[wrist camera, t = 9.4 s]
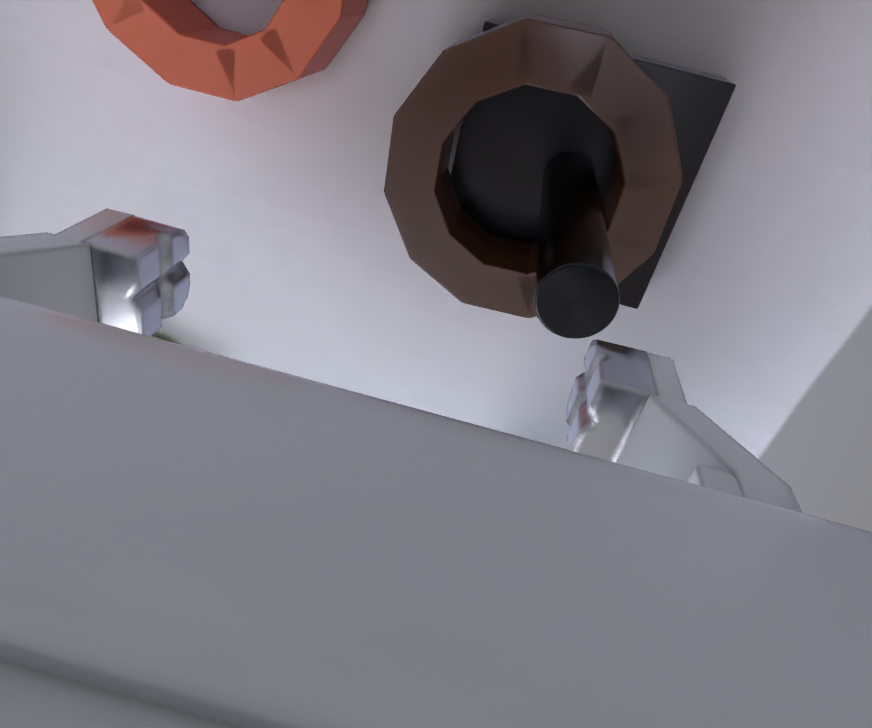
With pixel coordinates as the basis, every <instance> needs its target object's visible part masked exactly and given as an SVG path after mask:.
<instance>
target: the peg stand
mask: <svg viewBox="0 0 872 728" xmlns="http://www.w3.org/2000/svg"><path fill="white" fill-rule="evenodd" d="M503 23H504V22H500V21H496V20H492V19H489V20H487V21H485V23H484V27H483V31H485V30H488V29H490V28H493V27H495V26H498V25H501V24H503ZM628 55H629V56H630V57H631V58H632V59H633V60H634V61H635V62H636V63H637V64H638V65H639V66H640V67H641V68H642V69H643V71H644V72H645V73H646V74H647V75H648V76H649V77H650V78H651V79H652V80H653V81H654V82H655V83H656V84H657V85H658V87H659V88H660V89H661V90H662V91H663V92H664V93H665V94H666V95H667V96H668V97H669V100H670V105H671V111H672V117H673V123H674V129H675V135H676V141H677V147H678V153H679V159H680V165H681V171H682V183H681V186H680V188H679V191H678V193H677V196H676V199H675V201H674V204H673V206H672V209H671V211H670V214H669V216H668V219H667V221H666V224H665V226H664V229H663V232H662V234H661V237H660V239H659V242H658V244H657V247H656V249H655V251H654V253H653V255H652V256H650V257H649V258H648V259H647V260H646V261H644V262H643V263H642V264H641V265H640V266H639V267H637V268H636V269H635V270H634V271H633V272H632V273H630V274H629V275H628V276H627V277H626V278H624V279H623V280H622V281H621V282H620V283H619V284H617V279H616V274H615V269H614V264H613V259H612V254H611V249H610V244H609V240H608V235H607V230H606V225H605V220H604V215H603V210H602V205H601V204H602V203H603V200H604V197H605V194H606V191H607V188H608V185H609V182H610V179H611V176H612V173H613V170H614V167H615V164H616V161H617V160H616V155H615V150H614V145H613V141H612V136H611V131H610V128H609V127H608V126H607V125H606V124H605V123H604V122H603V121H602V120H601V119H600V118H599V117H598V116H597V115H596V114H595V113H594V112H593V111H592V110H591V109H590V108H589V107H588V106H587V105H586V104H585V103H584V102H583V101H582V100H581V99H580V98H579V97H578V96H575V95H571V94H566V93H562V92H557V91H552V90H548V89H543V88H539V87H534V86H529V85H523V86H521V87H518V88H515V89H512V90H510V91H507V92H504V93H501V94H498V95H496V96H493V97H490V98H487V99H484V100H482V101H479V102H476V103H475V105H474V106H473V107H472V108H471V110H470V111H469V112H468V113H467V114H466V116H465V117H464V118H463V122H462V127H461V131H460V136H459V140H458V145H457V149H456V154H455V158H454V163H453V167H452V172H451V179H452V182H453V185H454V188H455V191H456V194H457V196H458V199H459V202H460V205H461V208H462V209H463V210H465V211H466V212H467V213H468V214H469V215H470V216H471V217H472V218H473V219H475V220H476V221H477V222H478V223H479V224H480V225H481V226H482V227H483V228H485V229H486V230H487V231H488V232H489V233H490V234H491V235H495V236H499V237H503V238H508V239H512V240H517V241H521V242H525V243H530V244H532V243H535V242H538V250H537V264H536V279H535V293H534V307H535V311H536V314H537V316H538V318H539V320H540V321H541V323H542V324H543V325H544V326H545V327H546V328H547V329H548V330H550V331H551V332H553V333H555V334H557V335H559V336H562V337H566V338H585V337H589V336H592V335H594V334H596V333H598V332H600V331H601V330H603V329H604V328H605V327H607V326H608V325H609V324H610V323H611V321H612V320H613V319H614V317H615V315H616V313H617V311H618V308H619V304H621V305H625V306H628V307H632V308H636V309H637V308H638V307H639V304H640V302H641V300H642V298H643V295H644V293H645V291H646V289H647V286H648V284H649V282H650V279H651V277H652V275H653V273H654V270H655V268H656V266H657V264H658V261H659V259H660V257H661V255H662V252H663V250H664V248H665V245H666V243H667V241H668V239H669V236H670V234H671V232H672V230H673V227H674V225H675V223H676V220H677V218H678V216H679V214H680V211H681V209H682V207H683V205H684V202H685V200H686V198H687V196H688V193H689V191H690V189H691V186H692V184H693V182H694V180H695V177H696V175H697V173H698V171H699V168H700V166H701V164H702V162H703V159H704V157H705V155H706V152H707V150H708V148H709V146H710V143H711V141H712V139H713V137H714V134H715V132H716V130H717V127H718V125H719V123H720V121H721V118H722V116H723V114H724V112H725V109H726V107H727V105H728V103H729V100H730V98H731V96H732V93H733V91H734V89H735V87H736V85H735V84H734V83H732V82H730V81H729V80H727V79H725V78H721V77H717V76H713V75H709V74H705V73H701V72H697V71H693V70H689V69H685V68H681V67H677V66H673V65H669V64H665V63H661V62H657V61H654V60H650V59H646V58H642V57H638V56H634V55H630V54H628Z"/></svg>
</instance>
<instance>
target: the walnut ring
mask: <svg viewBox="0 0 872 728" xmlns="http://www.w3.org/2000/svg"><path fill="white" fill-rule="evenodd" d="M523 85H529V86H534V87H539V88H543V89H548V90H552V91H557V92H562V93H566V94H571V95H575V96H578V97H579V98H580V99H581V100H582V101H583V102H584V103H585V104H586V105H587V106H588V107H589V108H590V109H591V110H592V111H593V112H594V113H595V114H596V115H597V116H598V117H599V118H600V119H601V120H602V121H603V122H604V123H605V124H606V125H607V126H608V127H609V128H610V131H611V136H612V141H613V145H614V150H615V155H616V160H617V161H616V164H615V167H614V170H613V173H612V176H611V179H610V182H609V185H608V188H607V191H606V194H605V197H604V200H603V203H602V204H601V205H602V210H603V215H604V220H605V225H606V230H607V235H608V240H609V244H610V249H611V254H612V259H613V264H614V269H615V274H616V279H617V284H619V283H620V282H621V281H622V280H623V279H624V278H626V277H627V276H628V275H629V274H630V273H632V272H633V271H634V270H635V269H636V268H637V267H639V266H640V265H641V264H642V263H643V262H644V261H646V260H647V259H648V258H649V257H650V256H652V255H653V253H654V251H655V249H656V247H657V244H658V242H659V239H660V237H661V234H662V232H663V229H664V226H665V224H666V221H667V219H668V216H669V214H670V211H671V209H672V206H673V204H674V201H675V199H676V196H677V193H678V191H679V188H680V186H681V183H682V171H681V165H680V159H679V153H678V147H677V141H676V135H675V129H674V123H673V117H672V111H671V105H670V100H669V97H668V96H667V95H666V94H665V93H664V92H663V91H662V90H661V89H660V88H659V87H658V85H657V84H656V83H655V82H654V81H653V80H652V79H651V78H650V77H649V76H648V75H647V74H646V73H645V72H644V71H643V69H642V68H641V67H640V66H639V65H638V64H637V63H636V62H635V61H634V60H633V59H632V58H631V57H630V56H629V55H628V53H627V52H626V51H625V50H624V49H623V48H622V47H621V46H620V45H619V44H618V43H617V42H616V41H615V40H614V39H613V37H612V36H611V35H610V34H609V33H608V32H607V31H606V30H604V29H601V28H596V27H592V26H587V25H582V24H578V23H573V22H568V21H563V20H559V19H554V18H549V17H545V16H540V15H535V14H526V15H523V16H521V17H518V18H516V19H513V20H511V21H508V22H506V23H503V24H501V25H498V26H495V27H493V28H490V29H488V30H485V31H483V32H480V33H478V34H475V35H473V36H470V37H468V38H465V39H463V40H460V41H458V42H457V43H455V44H453V45H452V46H450V47H448V48H447V49H445V50H444V51H443V52H442V53H441V54H440V56H439V57H438V58H437V60H436V61H435V62H434V64H433V65H432V66H431V67H430V69H429V70H428V71H427V73H426V74H425V75H424V77H423V78H422V79H421V81H420V82H419V83H418V85H417V86H416V87H415V89H414V90H413V91H412V93H411V94H410V95H409V96H408V98H407V99H406V100H405V102H404V103H403V104H402V106H401V107H400V108H399V110H398V111H397V112H396V114H395V115H394V118H393V126H392V134H391V141H390V149H389V157H388V165H387V172H386V180H385V188H384V192H385V196H386V198H387V201H388V203H389V206H390V209H391V211H392V214H393V216H394V219H395V221H396V224H397V226H398V229H399V231H400V234H401V237H402V239H403V242H404V244H405V247H406V249H407V252H408V254H409V257H410V258H411V260H412V261H414V262H415V263H416V264H417V265H418V266H420V267H421V268H422V269H423V270H424V271H425V272H427V273H428V274H429V275H430V276H431V277H432V278H434V279H435V280H436V281H437V282H438V283H439V284H441V285H442V286H443V287H444V288H445V289H446V290H448V291H449V292H450V293H451V294H452V295H454V296H455V297H456V298H457V299H458V300H459V301H461V302H463V303H466V304H470V305H474V306H478V307H483V308H487V309H491V310H496V311H500V312H504V313H508V314H513V315H517V316H521V317H525V318H531V317H535V316H537V314H536V311H535V307H534V293H535V279H536V264H537V250H538V242H535V243H532V244H530V243H525V242H521V241H517V240H512V239H508V238H503V237H499V236H495V235H491V234H490V233H489V232H488V231H487V230H486V229H485V228H483V227H482V226H481V225H480V224H479V223H478V222H477V221H476V220H475V219H473V218H472V217H471V216H470V215H469V214H468V213H467V212H466V211H465V210H463V209H462V208H461V205H460V202H459V199H458V196H457V194H456V191H455V188H454V185H453V182H452V179H451V176H450V173H449V170H448V164H449V159H450V154H451V148H452V143H453V137H454V132H455V128H456V126H457V125H458V124H459V123H460V122H461V120H462V119H463V118H464V117H465V116H466V114H467V113H468V112H469V111H470V110H471V108H472V107H473V106H474V105H475V103H476V102H479V101H482V100H484V99H487V98H490V97H493V96H496V95H498V94H501V93H504V92H507V91H510V90H512V89H515V88H518V87H521V86H523Z"/></svg>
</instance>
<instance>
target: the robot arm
mask: <svg viewBox="0 0 872 728" xmlns="http://www.w3.org/2000/svg"><path fill="white" fill-rule="evenodd" d="M188 254H189V237H188V235H187V233H186V232H185V230H183V229H179V228H176V227H172V226H169V225H165V224H162V223H158V222H155V221H151V220H148V219H144V218H141V217H137V216H135V215H132V214H128V213H124V212H119V211H115V210H110V209H105V210H103V211H101V212H99V213H97V214H95V215H93V216H91V217H89V218H87V219H85V220H83V221H81V222H79V223H77V224H75V225H73V226H71V227H69V228H67V229H65V230H63V231H61V232H59V233H57V234H51V233H37V234H26V235H16V236H5V237H0V728H872V532H869V531H865V530H862V529H858V528H855V527H851V526H847V525H843V524H840V523H836V522H832V521H829V520H825V519H821V518H817V517H814V516H810V515H806V514H803V513H802V511H801V509H800V507H799V505H798V503H797V500H796V498H795V496H794V494H793V492H792V489H791V487H790V486H789V485H788V484H786V483H785V482H784V481H783V480H782V479H781V478H779V477H778V476H777V475H776V474H775V473H773V472H772V471H771V470H770V469H769V468H768V467H766V466H765V465H764V464H763V463H761V462H760V461H759V460H758V459H757V458H756V457H755V456H753V455H752V454H751V453H750V452H749V451H747V450H746V449H745V448H744V447H743V446H741V445H740V444H739V443H738V442H737V441H736V440H734V439H733V438H732V437H731V436H730V435H728V434H727V433H726V432H725V431H724V430H722V429H721V428H720V427H719V426H718V425H717V424H715V423H714V422H713V421H712V420H711V419H709V418H708V417H707V416H706V415H705V414H704V413H702V412H701V411H700V410H699V409H698V408H696V407H695V406H692V405H689V404H687V402H686V399H685V396H684V393H683V390H682V387H681V384H680V380H679V377H678V374H677V371H676V368H675V365H674V362H673V360H672V359H671V358H670V357H665V356H661V355H656V354H651V353H647V352H646V351H642V350H638V349H634V348H629V347H625V346H621V345H617V344H613V343H609V342H605V341H600V340H593V341H592V343H591V344H590V346H589V348H588V350H587V353H586V355H585V357H584V366H585V372H584V373H582V374H581V375H579V376H578V377H576V380H575V382H574V385H573V388H572V390H571V393H570V397H569V401H568V405H567V413H566V422H567V423H568V424H569V426H570V430H569V432H568V434H567V449H563V448H559V447H556V446H552V445H548V444H545V443H541V442H537V441H534V440H530V439H526V438H522V437H519V436H515V435H511V434H508V433H504V432H500V431H497V430H493V429H489V428H486V427H482V426H478V425H474V424H471V423H467V422H463V421H460V420H456V419H452V418H449V417H445V416H441V415H438V414H434V413H430V412H427V411H423V410H419V409H416V408H412V407H408V406H405V405H401V404H397V403H394V402H390V401H386V400H383V399H379V398H375V397H371V396H368V395H364V394H360V393H357V392H353V391H349V390H346V389H342V388H338V387H335V386H331V385H327V384H324V383H320V382H316V381H313V380H309V379H305V378H302V377H298V376H294V375H291V374H287V373H283V372H280V371H276V370H272V369H269V368H265V367H261V366H258V365H254V364H250V363H246V362H243V361H239V360H235V359H232V358H228V357H224V356H221V355H217V354H213V353H210V352H206V351H202V350H199V349H195V348H191V347H188V346H184V345H180V344H177V343H173V342H169V341H166V340H162V339H158V338H155V337H151V336H152V335H153V334H154V333H155V332H156V331H157V330H159V329H160V328H161V327H162V320H161V319H164V318H168V317H172V316H174V315H176V314H177V313H178V312H179V311H180V310H181V309H182V307H183V305H184V303H185V301H186V299H187V297H188V292H189V287H190V273H189V272H188V270H187V268H186V267H185V265H184V263H183V262H182V261H183V260H184V259H185V258H186V256H187V255H188Z"/></svg>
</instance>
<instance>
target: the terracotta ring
mask: <svg viewBox="0 0 872 728" xmlns="http://www.w3.org/2000/svg"><path fill="white" fill-rule="evenodd" d="M92 1H93V3H94V5H95V7H96V9H97V10H98V12H99V14H100V16H101V18H102V20H103V22H104V24H105V26H106V28H107V29H108V30H109V31H110V32H111V33H112V34H113V35H114V36H115V37H117V38H118V39H119V40H120V41H121V42H122V43H123V44H124V45H126V46H127V47H128V48H129V49H130V50H131V51H132V52H133V53H135V54H136V55H137V56H138V57H139V58H140V59H141V60H143V61H144V62H145V63H146V64H147V65H148V66H149V67H150V68H152V69H153V70H154V71H155V72H156V73H157V74H158V75H159V76H161V77H162V78H163V79H164V80H165V81H166V82H168V83H169V84H171V85H175V86H179V87H183V88H186V89H190V90H194V91H198V92H202V93H206V94H210V95H213V96H217V97H221V98H225V99H229V100H233V101H240V100H242V99H245V98H248V97H251V96H253V95H256V94H259V93H262V92H264V91H267V90H270V89H273V88H275V87H278V86H281V85H284V84H286V83H289V82H292V81H295V80H297V79H300V78H303V77H305V76H308V75H311V74H313V73H316V72H319V71H321V70H324V69H325V68H326V67H327V66H328V65H329V63H330V62H331V60H332V59H333V58H334V56H335V55H336V53H337V52H338V51H339V49H340V48H341V46H342V45H343V44H344V42H345V41H346V39H347V38H348V37H349V35H350V34H351V32H352V31H353V30H354V28H355V27H356V25H357V24H358V22H359V21H360V20H361V18H362V17H363V15H364V13H365V11H366V4H367V0H283V2H282V4H281V5H280V7H279V8H278V10H277V12H276V13H275V15H274V16H273V18H272V19H271V21H270V23H269V24H268V26H267V27H266V29H264V30H262V31H259V32H257V33H254V34H252V35H249V36H248V35H244V34H240V33H237V32H233V31H229V30H225V29H221V28H219V27H218V26H216V25H215V24H214V23H213V22H212V21H211V20H210V19H209V18H208V17H207V16H206V15H205V14H204V13H203V12H201V11H200V10H199V9H198V8H197V7H196V6H195V5H194V4H193V3H192V2H191V1H190V0H92Z"/></svg>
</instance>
